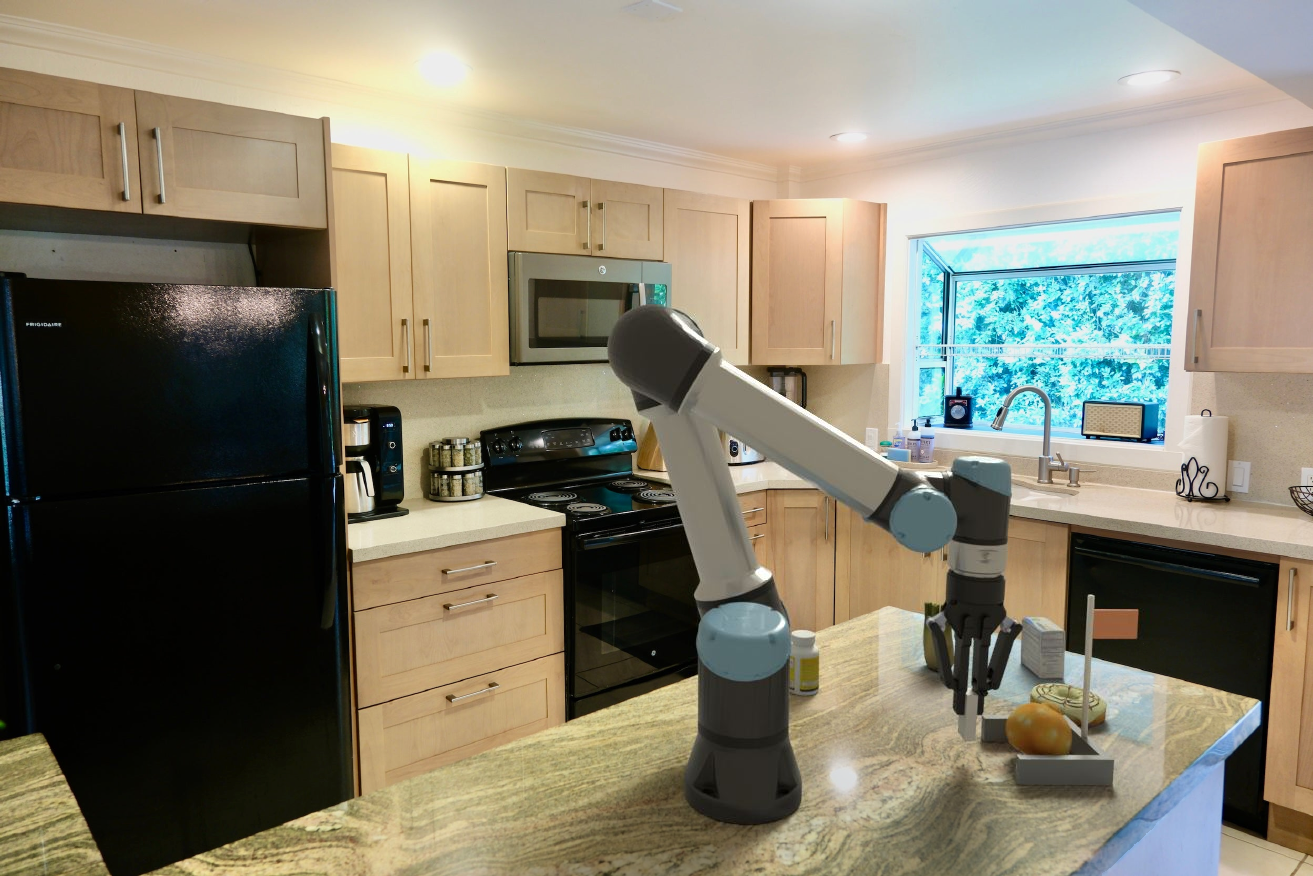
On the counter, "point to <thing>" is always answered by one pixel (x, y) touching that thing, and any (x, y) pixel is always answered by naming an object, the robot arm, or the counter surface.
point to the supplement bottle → (804, 663)
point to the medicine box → (1043, 647)
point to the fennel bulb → (929, 651)
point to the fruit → (1039, 730)
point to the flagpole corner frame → (1087, 755)
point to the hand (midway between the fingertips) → (966, 736)
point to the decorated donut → (1070, 701)
